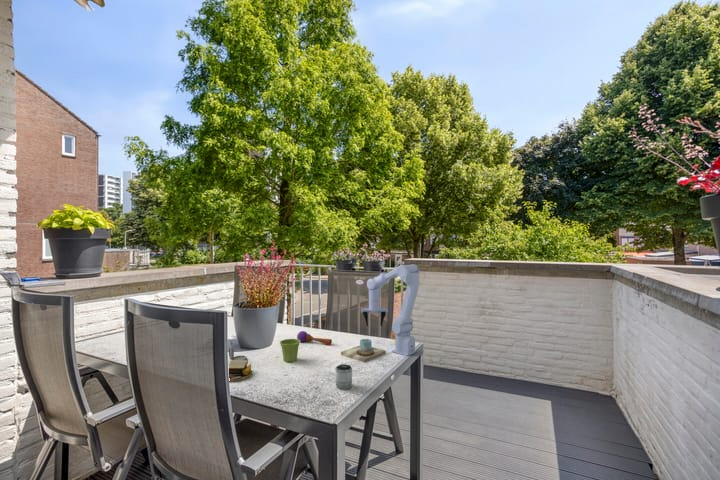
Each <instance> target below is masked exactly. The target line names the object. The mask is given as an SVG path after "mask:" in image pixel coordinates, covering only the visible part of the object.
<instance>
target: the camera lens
mask: <svg viewBox="0 0 720 480" xmlns="http://www.w3.org/2000/svg"><path fill="white" fill-rule="evenodd" d="M352 385H353V367H352V366H351V365H350V364H341V363H340V364H339V365H337V366H336V368H335V386H336V389H339V390H341V391H342V390H344V391H345V390H350V389H351V388H352Z"/></svg>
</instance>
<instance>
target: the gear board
mask: <svg viewBox="0 0 720 480" xmlns="http://www.w3.org/2000/svg"><path fill="white" fill-rule="evenodd" d="M364 342H367V340H364ZM386 353H387V352H386V350H384V349H381V348H376V347H374V346H372V348H371V349H367V346H364V349H360V345H357V346H354V347H352V348H349V349H345V350H342V351H341V352H340V355H341V356H343V357H347V358H350V359H353V360H356V361H359V362H361V363H362V362H363V363H366V362H369V361H371V360H374V359H375V358H379V357H381V356H383V355H386Z"/></svg>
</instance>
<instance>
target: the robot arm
mask: <svg viewBox="0 0 720 480" xmlns="http://www.w3.org/2000/svg"><path fill="white" fill-rule="evenodd" d="M420 274H421V271H420V269H419V266H417V264H414V263H412V264H401V265H399V266H396V267H395V268H393V269H391V270H390V271H389V272H387V273H385V272H380V274H379V275H376V276H374V277H373V278H369V279H368V280H367V281H366V287H367V289H368V307H366V308H365V307H364V308H360V313H361V314H362V315H363V318H364V319H365V325H366V327H369V321H368V320H369V316H368V315H369V313H380V323H379V324H380V327H382V326H383V323H384V320H385V318H386V315H387V313H389V309H388V307H387V308H385V307H384V308H383V307H380V306H381V305H380V298H381V297H380V293H381V289H382V287H383V286H385V285H386V284H389V283H390V280H391V279H394V278H396V277H399V278H400V279H401V280H402V281H403V283H405V284H406V289H405V293H404V297H403V300H402V304H401V308H400V313H399V314H398V316H397V317H396V318H395V320H394V322H393V323H392V325H391V329H392V332H393V335H394V337H395V340H394V341H395V342H394V343H395V344H394V347H395V348H394V349H393V350H391V352H392V353H395V354H398V355H403V356H406V357H408V356H410V355H413V354H415V353H416V352H417V351H416V338H415V337H414V336H413V335H411V332H412V331H413V328H414V324H413V322H414V318H413V317H412V315H413V310H414V307H415V303H416V298H417V295H418V291H419V287H420Z"/></svg>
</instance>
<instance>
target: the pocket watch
mask: <svg viewBox="0 0 720 480" xmlns="http://www.w3.org/2000/svg"><path fill="white" fill-rule="evenodd" d="M234 350H235V349H234V346H233V341H232V340H231V339H230V345H229V346H228V356H229V357H228V358H229V360H230V361H232V360H247V358H248V357H247V356H246V355H236V356H235V351H234Z"/></svg>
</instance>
